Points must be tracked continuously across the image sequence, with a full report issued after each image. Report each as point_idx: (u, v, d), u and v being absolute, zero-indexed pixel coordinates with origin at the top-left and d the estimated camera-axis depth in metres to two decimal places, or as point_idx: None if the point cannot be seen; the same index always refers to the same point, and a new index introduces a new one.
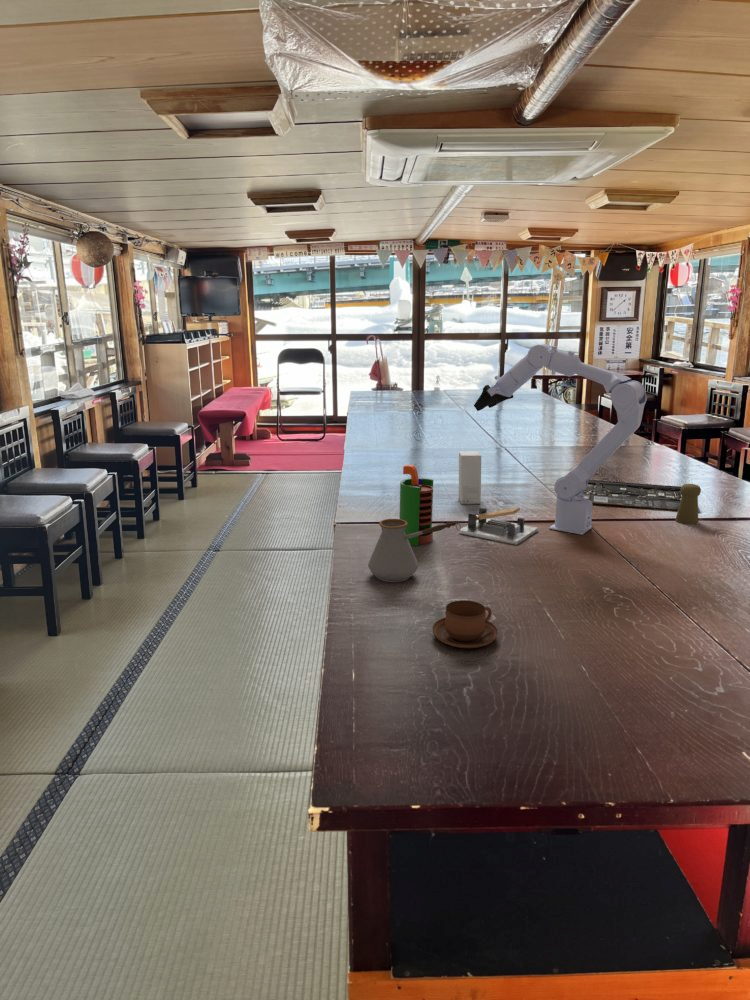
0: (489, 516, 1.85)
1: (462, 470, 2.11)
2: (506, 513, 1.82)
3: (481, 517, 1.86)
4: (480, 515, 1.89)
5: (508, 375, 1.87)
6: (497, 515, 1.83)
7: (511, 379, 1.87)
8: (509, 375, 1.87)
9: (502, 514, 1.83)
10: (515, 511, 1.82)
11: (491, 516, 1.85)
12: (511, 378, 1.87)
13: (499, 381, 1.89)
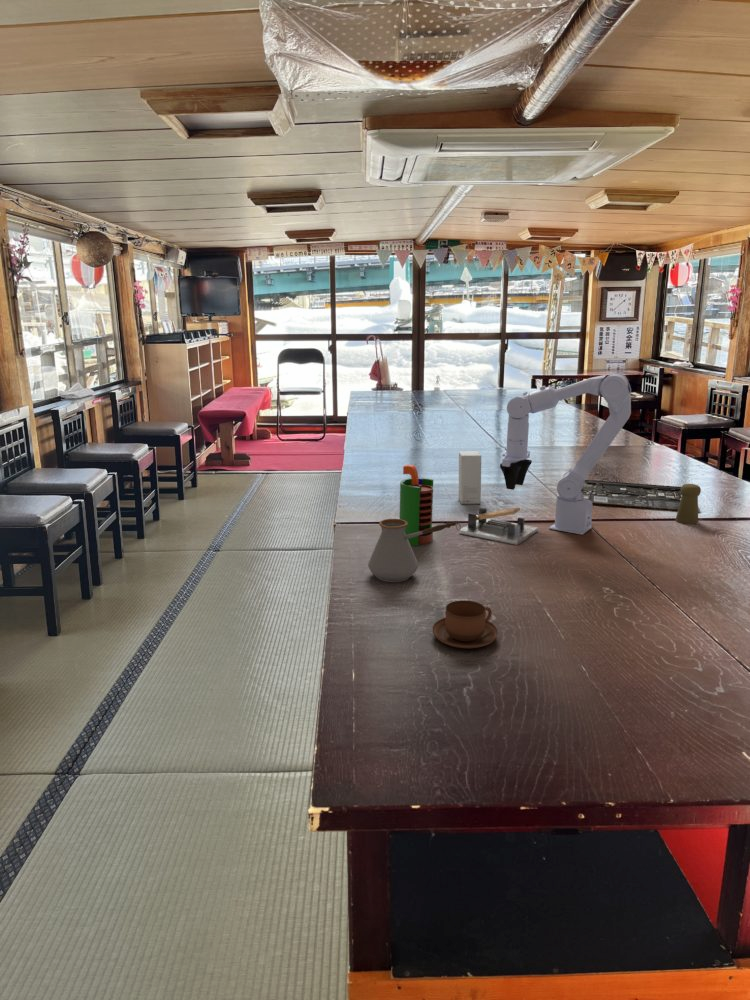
0: (489, 516, 1.85)
1: (462, 470, 2.11)
2: (506, 513, 1.82)
3: (481, 517, 1.86)
4: (480, 515, 1.89)
5: (509, 442, 1.88)
6: (497, 515, 1.83)
7: (513, 443, 1.87)
8: (509, 442, 1.88)
9: (502, 514, 1.83)
10: (515, 511, 1.82)
11: (491, 516, 1.85)
12: (513, 442, 1.87)
13: (507, 454, 1.90)
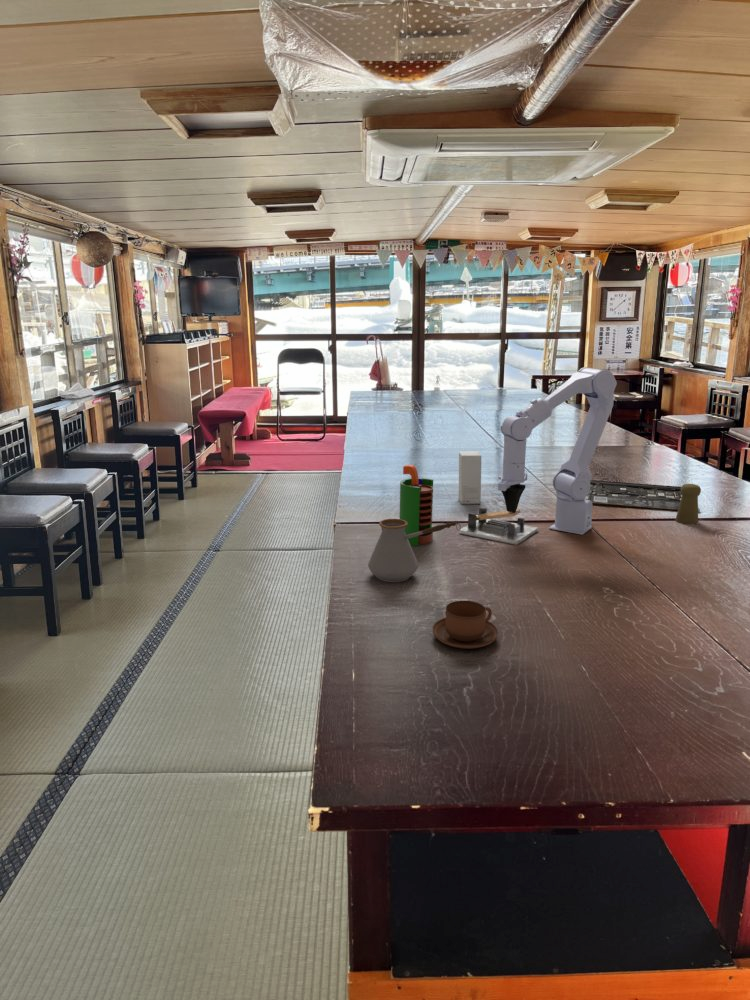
0: (489, 517, 1.85)
1: (462, 470, 2.11)
2: (506, 515, 1.82)
3: (481, 517, 1.86)
4: (480, 515, 1.88)
5: (505, 465, 1.78)
6: (497, 516, 1.84)
7: (510, 465, 1.77)
8: (506, 464, 1.78)
9: (502, 515, 1.83)
10: (516, 513, 1.82)
11: (491, 517, 1.85)
12: (509, 465, 1.77)
13: (503, 477, 1.80)
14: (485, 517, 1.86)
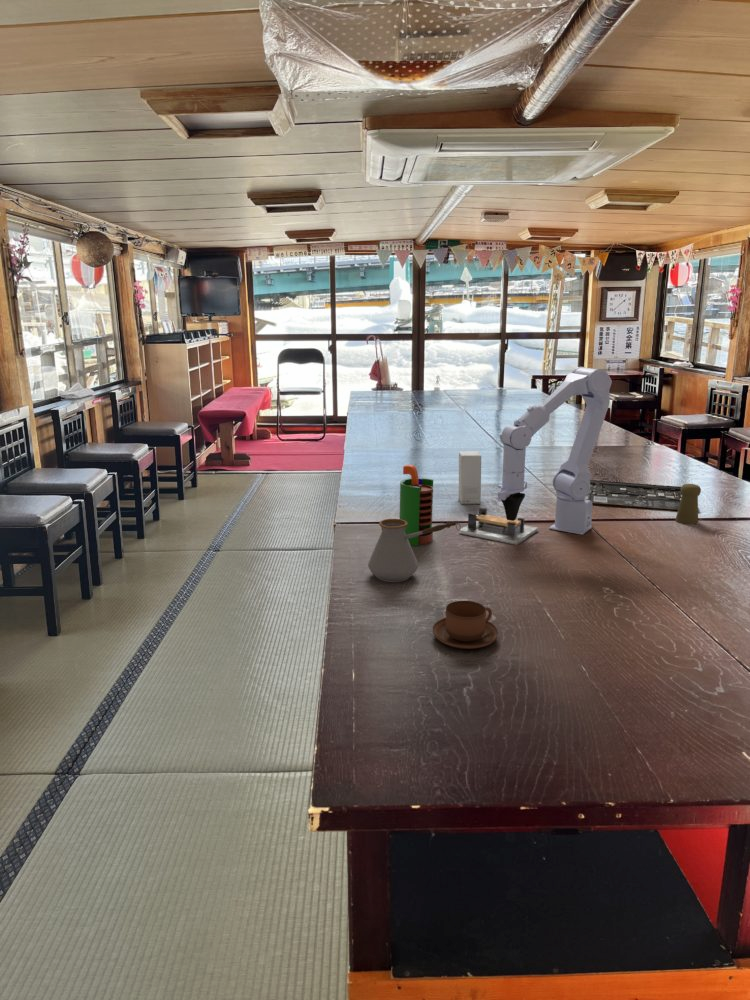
0: (490, 521, 1.85)
1: (462, 470, 2.11)
2: (507, 524, 1.82)
3: (481, 520, 1.87)
4: (481, 516, 1.89)
5: (505, 474, 1.79)
6: (498, 523, 1.84)
7: (509, 474, 1.78)
8: (505, 473, 1.79)
9: (503, 524, 1.83)
10: (516, 525, 1.83)
11: (492, 522, 1.85)
12: (509, 474, 1.78)
13: (503, 485, 1.80)
14: (485, 520, 1.86)
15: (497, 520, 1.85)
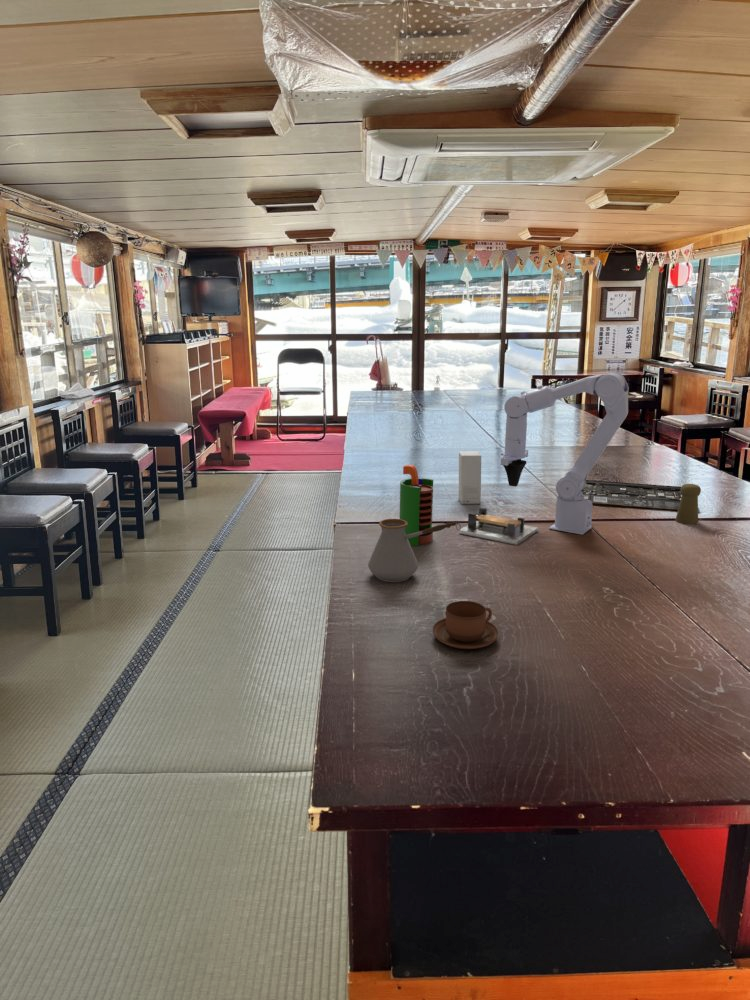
0: (490, 521, 1.85)
1: (462, 470, 2.11)
2: (507, 524, 1.82)
3: (481, 520, 1.87)
4: (481, 516, 1.89)
5: (507, 442, 1.90)
6: (498, 523, 1.84)
7: (512, 442, 1.89)
8: (508, 441, 1.89)
9: (503, 524, 1.83)
10: (516, 525, 1.83)
11: (492, 522, 1.85)
12: (511, 441, 1.89)
13: (505, 453, 1.91)
14: (485, 520, 1.86)
15: (497, 520, 1.85)
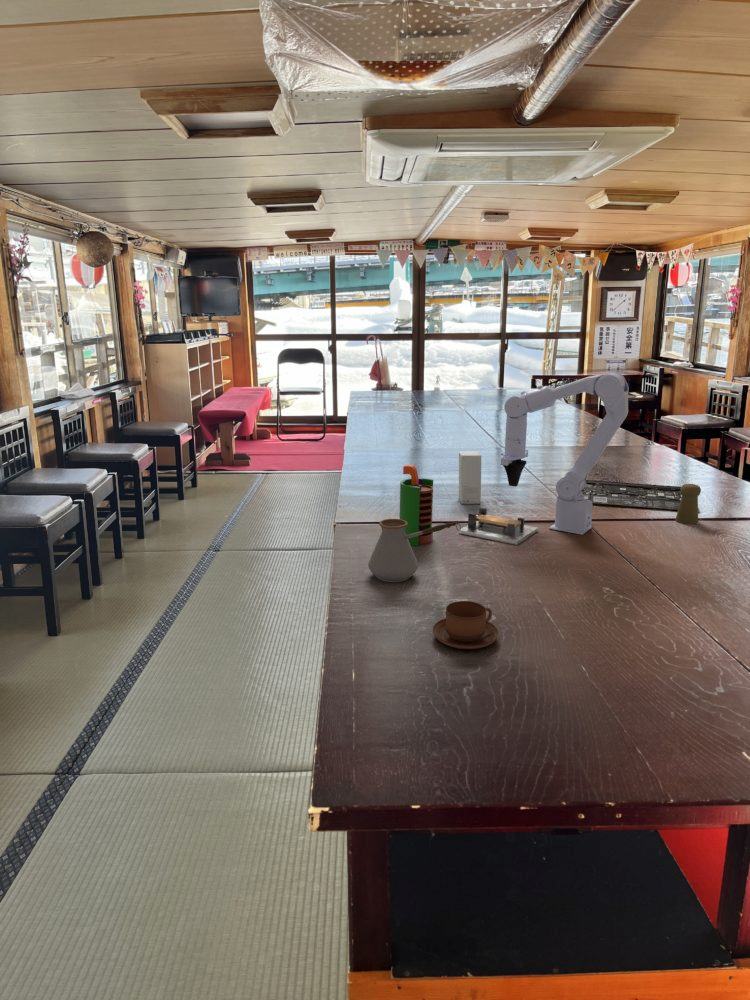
0: (490, 521, 1.85)
1: (462, 470, 2.11)
2: (507, 524, 1.82)
3: (481, 520, 1.87)
4: (481, 516, 1.89)
5: (507, 442, 1.90)
6: (498, 523, 1.84)
7: (512, 442, 1.89)
8: (508, 441, 1.89)
9: (503, 524, 1.83)
10: (516, 525, 1.83)
11: (492, 522, 1.85)
12: (511, 441, 1.89)
13: (505, 453, 1.91)
14: (485, 520, 1.86)
15: (497, 520, 1.85)
